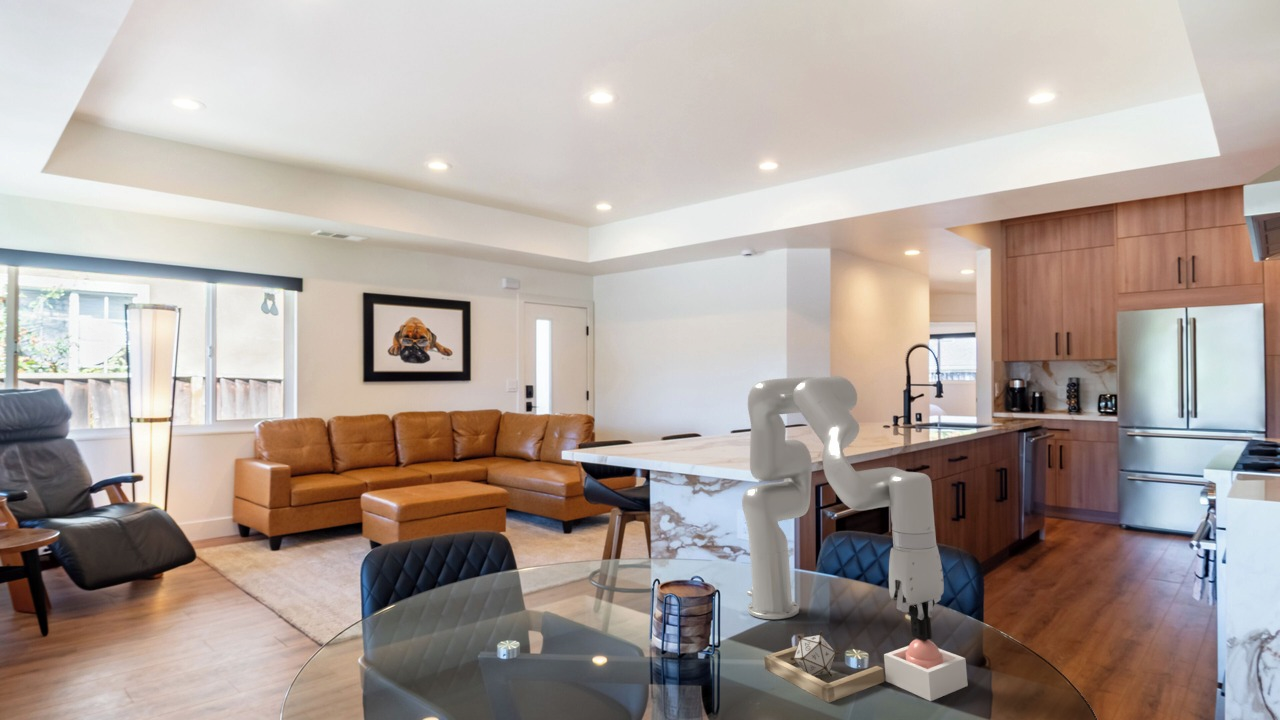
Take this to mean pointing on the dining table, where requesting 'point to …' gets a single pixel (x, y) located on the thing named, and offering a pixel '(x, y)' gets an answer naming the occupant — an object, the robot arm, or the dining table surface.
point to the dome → (924, 654)
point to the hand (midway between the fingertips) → (921, 637)
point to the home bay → (815, 686)
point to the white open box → (926, 674)
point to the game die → (814, 655)
